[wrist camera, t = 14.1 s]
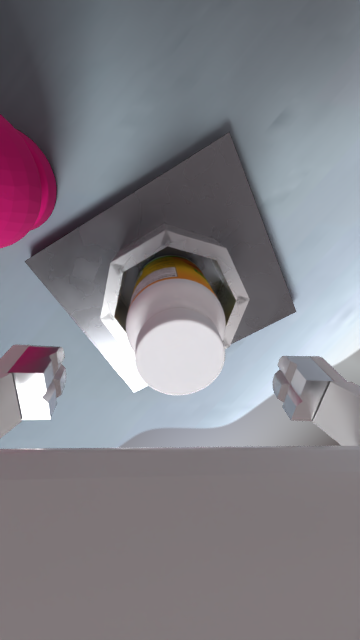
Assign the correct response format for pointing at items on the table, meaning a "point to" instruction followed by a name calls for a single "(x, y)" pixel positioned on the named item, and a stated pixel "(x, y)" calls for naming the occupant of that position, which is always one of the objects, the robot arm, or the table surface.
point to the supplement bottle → (175, 327)
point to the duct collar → (169, 253)
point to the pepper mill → (23, 185)
